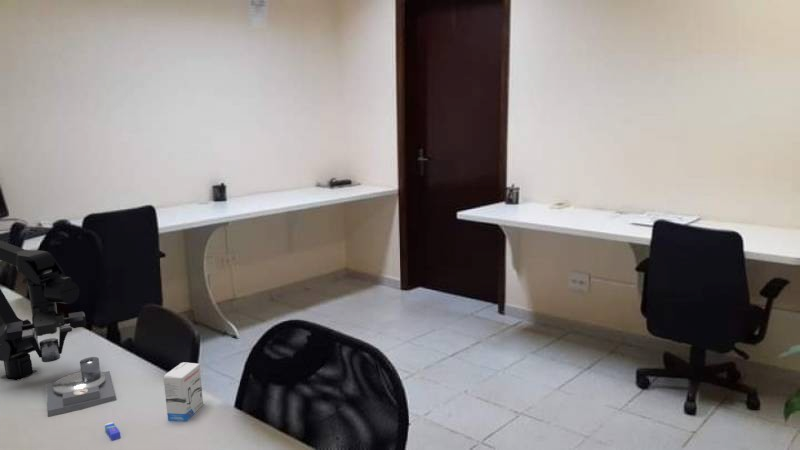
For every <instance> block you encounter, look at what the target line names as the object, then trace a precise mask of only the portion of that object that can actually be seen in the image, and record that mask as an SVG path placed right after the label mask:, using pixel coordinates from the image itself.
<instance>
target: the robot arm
mask: <svg viewBox="0 0 800 450" xmlns="http://www.w3.org/2000/svg"><path fill="white" fill-rule="evenodd" d="M0 261H1V262H4V263H6V264H9V265H12V266H14V267H16V271H17V272H18V273H20V274H21V275H23V276H25V278H23V279H22V280H21V283H22V284H26V285H27V287H28V295H29V302H30V307H31V314H32V315H31V320H32V323H31V321H30V319H25V320H23V319H21V318H19V317H18V315H16V314H17V313H16V312H15V311H14V309H13V308H12V307H13V306H11V303H9V300H8V299H7V298H6V295H5V294H4V292H3V290H2V289H1V288H0V362H3V365H4V373H5V375H3V376H1V377H0V378H1V379H5V380H11V381H21V380H22V379H24V378H28V377H29V376H31V375H33V374H35V373H38V370H36V369H33V364H32V358H31V354H30V353H32V352H36V354H37V355H38V357H39V358H41V352H40V345H39V340H38V337H42V336H44V335H50V334H51V335H53V334H56V333H57V332H58V328H59V332H58V334H59V335H58V337H59V338H58V343H59V351H60V355H61V354H62V353H63V349H64V343H65V340H66V338H67V336H68V333H70V332H72V331H73V329H77V328H79V329H80V328H85V327H86V326H87V319H86V314H85V312H84V311H78V312H70V313H68V317H65V315H64V312H58V310H57V309H58V308H57V303H58V304H59V303H60V304H68V305H70V304H74V303H75V302H76V301H77V300H78V298H79V296H80V287H79V286H78V284H77V283H76V282H74V281H72V278H71V276H66V274H65V272H64V270H63V268H62V267H61V266H60V264H59V263H58V262H57V260H56V259H55V257H54V256H53V254H52V253H51V252H49V251H45V250H39V249H37V250H35V249H34V250H32V249H30V250H29V249H25V248H21V247H19V246H17V245H14V244H11V243H8V242H5V241H3V240H0ZM64 317H65V318H64Z"/></svg>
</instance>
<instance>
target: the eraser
mask: <svg viewBox="0 0 800 450" xmlns="http://www.w3.org/2000/svg"><path fill="white" fill-rule="evenodd" d="M104 431H105V432H106V434H107V435H108V437H109V439H110V440H111V442H112V441H116V440H118V439H121V432H120V429H119V428H118V427H117V426H116V424H115V423H114V421H111V422H108V423H104Z"/></svg>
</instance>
